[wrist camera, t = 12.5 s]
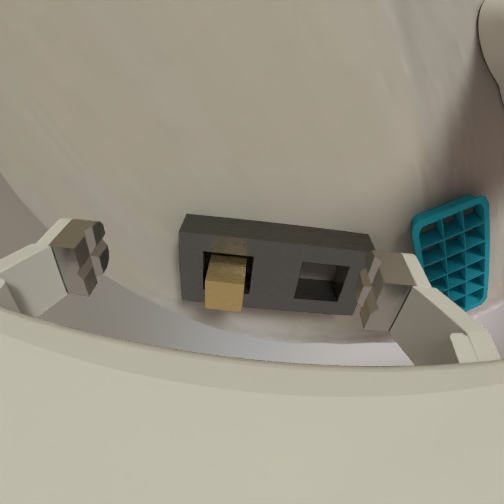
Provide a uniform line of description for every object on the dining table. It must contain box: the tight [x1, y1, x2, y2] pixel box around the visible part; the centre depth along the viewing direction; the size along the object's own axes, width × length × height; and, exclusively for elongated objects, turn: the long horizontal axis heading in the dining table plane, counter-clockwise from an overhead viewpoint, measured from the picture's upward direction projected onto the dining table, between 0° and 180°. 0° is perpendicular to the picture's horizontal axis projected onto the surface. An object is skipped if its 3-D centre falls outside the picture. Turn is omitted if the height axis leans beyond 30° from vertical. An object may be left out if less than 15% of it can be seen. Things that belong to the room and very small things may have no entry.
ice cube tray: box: [411, 194, 490, 312], centre depth 38 cm, size 12×20×3 cm, turn 26°
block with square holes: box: [179, 214, 375, 315], centre depth 38 cm, size 22×10×4 cm, turn 84°
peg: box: [205, 252, 247, 312], centre depth 36 cm, size 4×4×8 cm
